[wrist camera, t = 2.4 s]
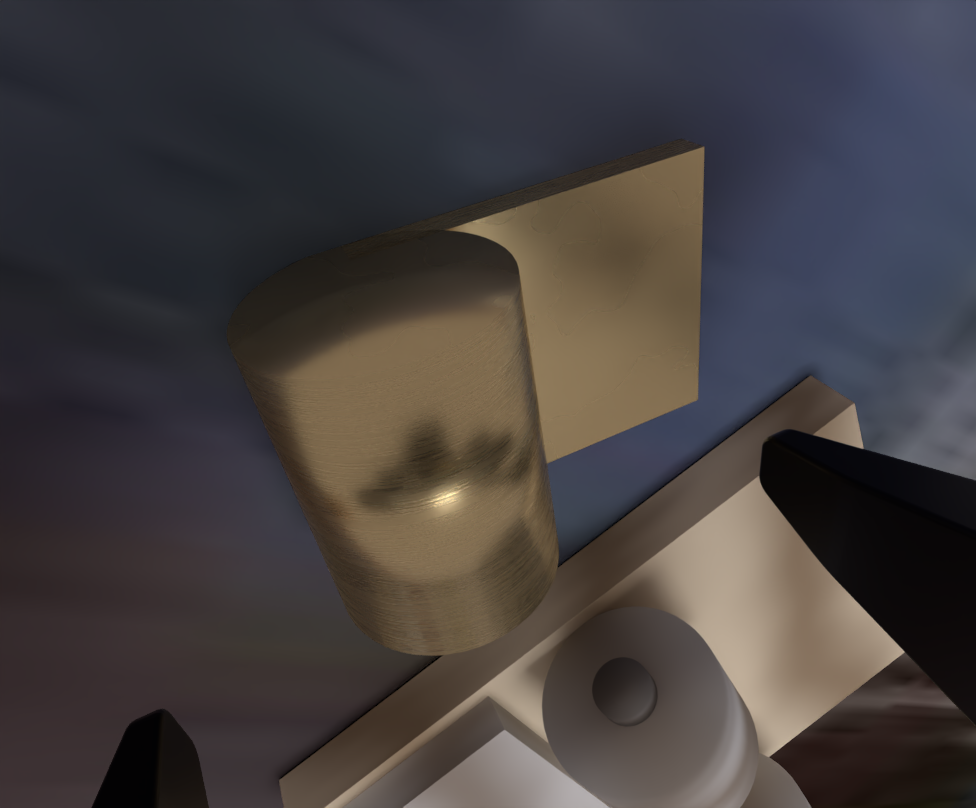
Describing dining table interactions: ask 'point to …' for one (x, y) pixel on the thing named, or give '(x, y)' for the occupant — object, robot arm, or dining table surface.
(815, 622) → the hinge base
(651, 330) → the brass cylinder with flap
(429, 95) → the dining table surface
